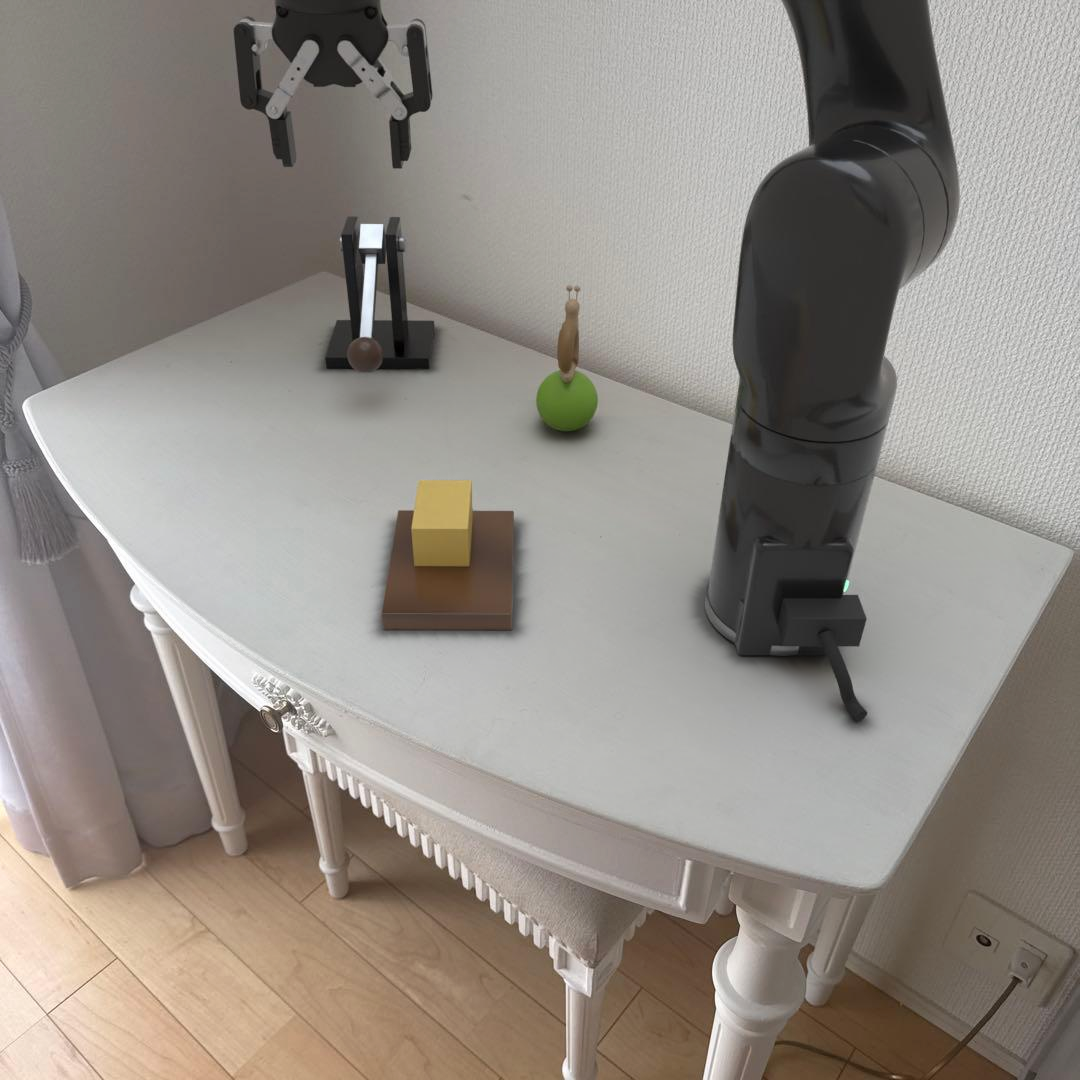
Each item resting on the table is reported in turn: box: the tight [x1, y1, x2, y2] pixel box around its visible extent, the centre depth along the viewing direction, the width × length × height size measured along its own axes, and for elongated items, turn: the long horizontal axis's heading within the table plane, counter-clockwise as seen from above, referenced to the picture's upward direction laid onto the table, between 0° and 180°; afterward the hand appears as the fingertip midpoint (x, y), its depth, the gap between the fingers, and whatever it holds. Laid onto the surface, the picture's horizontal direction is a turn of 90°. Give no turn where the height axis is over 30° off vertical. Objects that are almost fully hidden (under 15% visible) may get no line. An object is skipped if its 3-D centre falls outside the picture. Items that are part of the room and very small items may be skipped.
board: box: [380, 509, 515, 631], centre depth 77 cm, size 12×9×2 cm
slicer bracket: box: [324, 216, 436, 370], centre depth 101 cm, size 8×10×13 cm
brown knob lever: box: [347, 223, 387, 374], centre depth 96 cm, size 15×3×3 cm, turn 0°
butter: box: [411, 479, 474, 566], centre depth 77 cm, size 6×4×4 cm, turn 0°
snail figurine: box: [535, 284, 599, 432], centre depth 91 cm, size 5×6×12 cm
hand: (344, 164), depth 83 cm, fingers open, 8 cm apart
